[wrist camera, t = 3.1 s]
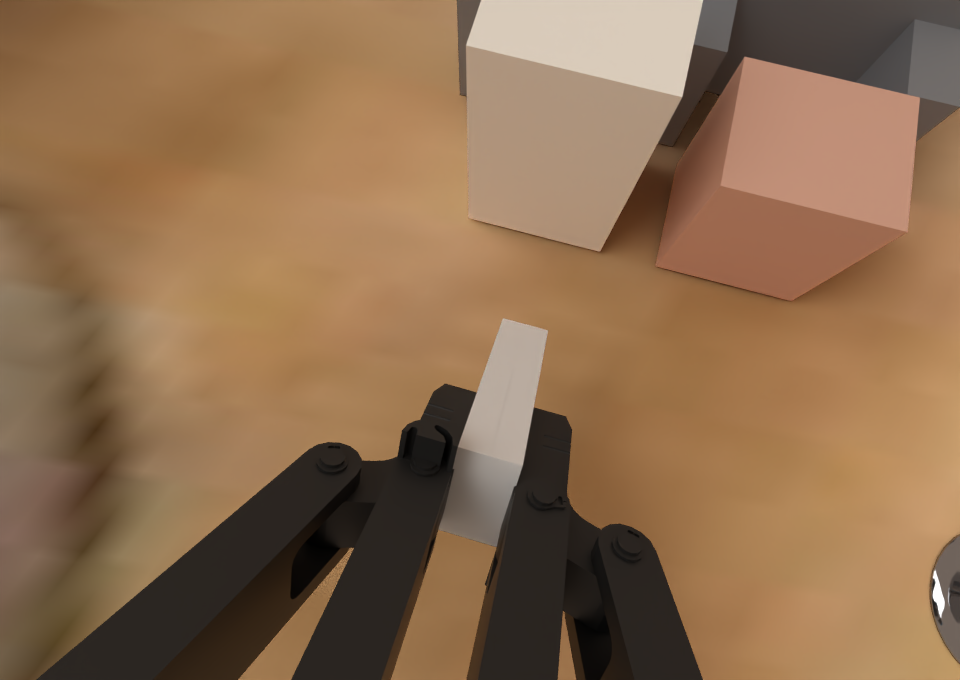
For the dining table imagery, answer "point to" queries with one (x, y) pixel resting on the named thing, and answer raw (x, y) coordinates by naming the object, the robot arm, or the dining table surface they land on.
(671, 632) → the robot arm
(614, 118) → the cream key
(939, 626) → the wine glass
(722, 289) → the dining table surface
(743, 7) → the console
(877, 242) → the terracotta key
